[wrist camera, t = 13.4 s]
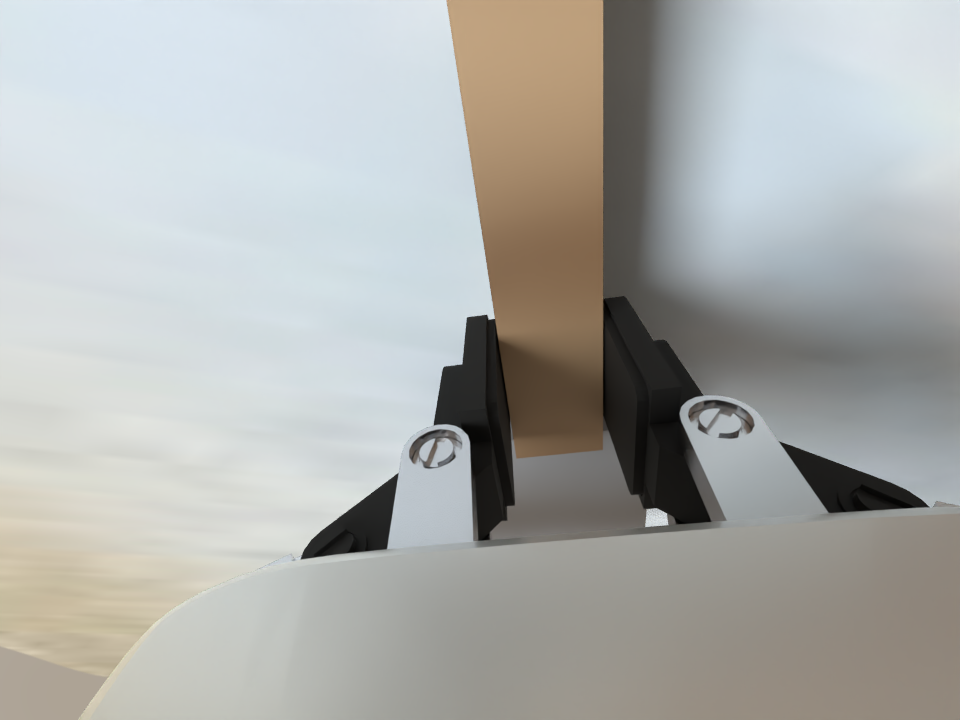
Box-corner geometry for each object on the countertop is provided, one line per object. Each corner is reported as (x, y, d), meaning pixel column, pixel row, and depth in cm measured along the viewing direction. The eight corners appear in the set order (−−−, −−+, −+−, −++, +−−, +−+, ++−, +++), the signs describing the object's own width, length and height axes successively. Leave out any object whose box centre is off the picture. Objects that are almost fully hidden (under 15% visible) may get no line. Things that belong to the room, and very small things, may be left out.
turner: (358, -85, 8) (302, -158, 6) (655, -153, 8) (736, -267, 5) (489, 511, 18) (490, 580, 15) (626, 498, 17) (649, 569, 15)
